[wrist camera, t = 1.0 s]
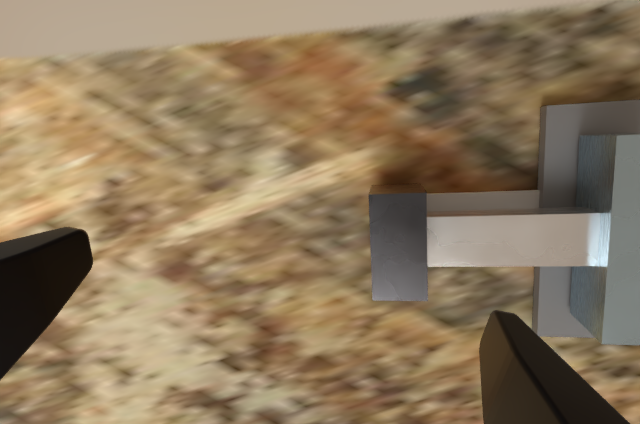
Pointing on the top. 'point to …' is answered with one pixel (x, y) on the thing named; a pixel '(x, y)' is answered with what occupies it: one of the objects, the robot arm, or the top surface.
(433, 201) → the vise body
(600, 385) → the top surface
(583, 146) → the vise jaw
